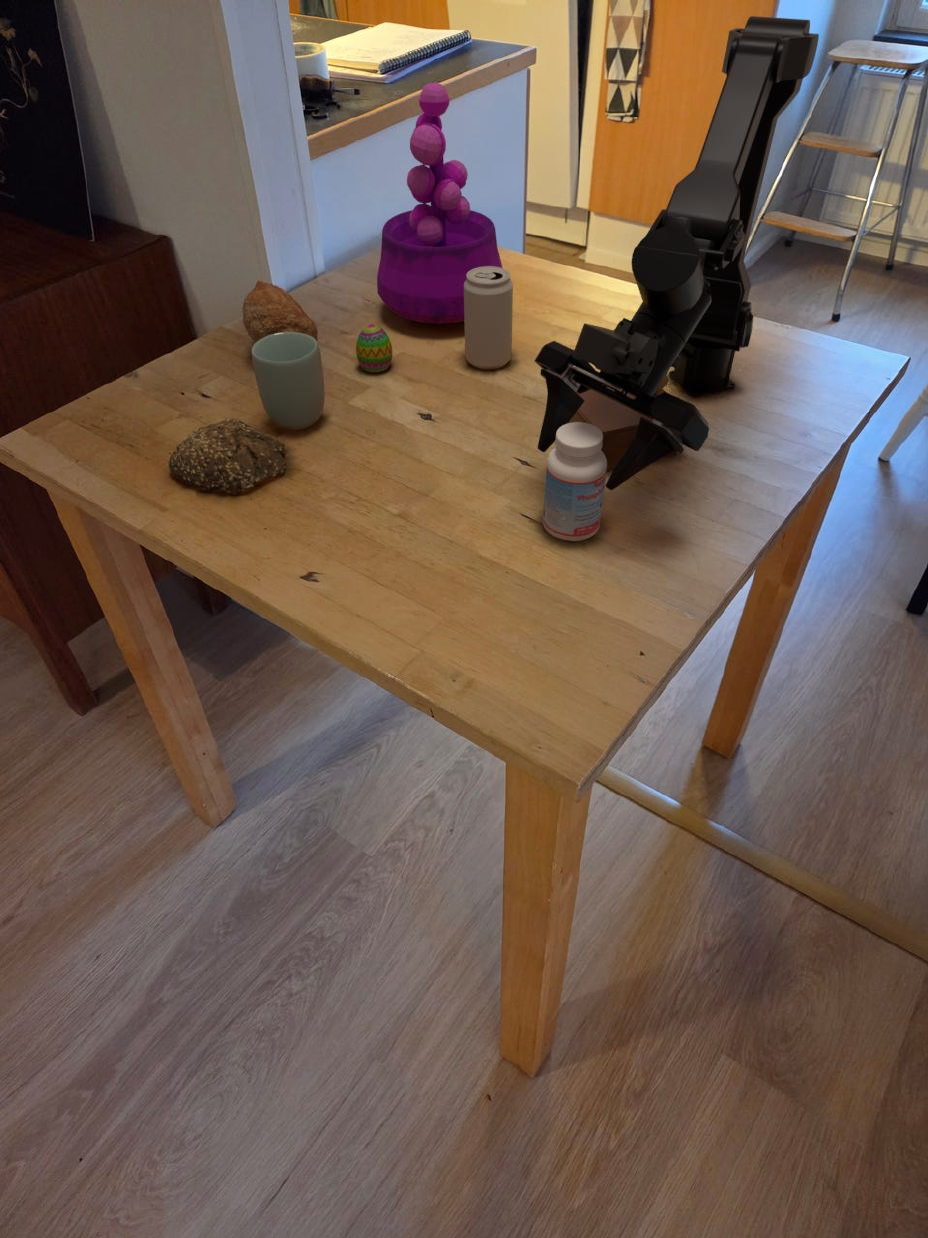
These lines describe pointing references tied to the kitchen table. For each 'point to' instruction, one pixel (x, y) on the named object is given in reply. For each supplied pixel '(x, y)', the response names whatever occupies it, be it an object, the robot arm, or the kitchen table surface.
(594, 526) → the pill bottle
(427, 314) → the decorative plant
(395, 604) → the kitchen table surface
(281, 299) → the crusty roll
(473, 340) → the beverage can
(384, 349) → the egg
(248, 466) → the bread roll
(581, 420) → the chest
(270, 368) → the cup
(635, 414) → the lid
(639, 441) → the robot arm
